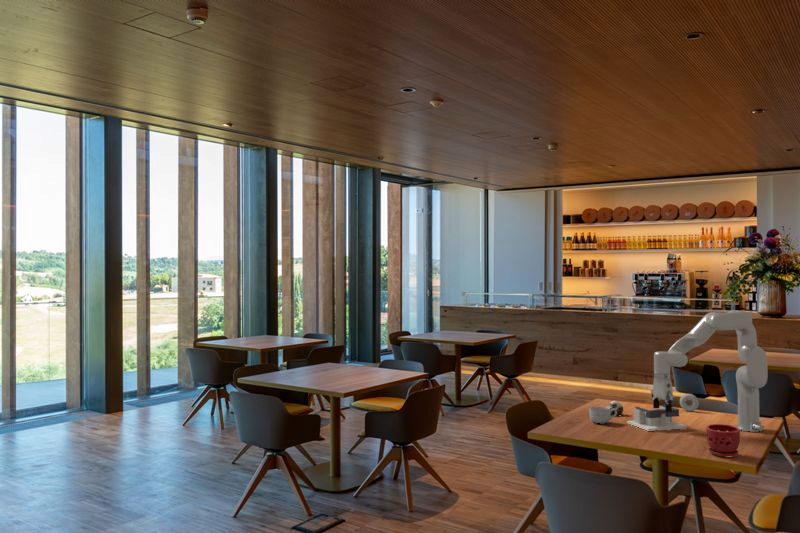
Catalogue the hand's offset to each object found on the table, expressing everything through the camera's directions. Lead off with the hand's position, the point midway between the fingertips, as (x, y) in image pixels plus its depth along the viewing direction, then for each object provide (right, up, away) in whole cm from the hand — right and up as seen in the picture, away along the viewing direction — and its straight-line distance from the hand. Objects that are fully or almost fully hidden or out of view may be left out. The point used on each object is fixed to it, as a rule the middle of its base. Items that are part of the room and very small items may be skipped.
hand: (662, 410), depth 330 cm
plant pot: (+7, -9, -48) cm, 49 cm away
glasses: (-1, -3, +4) cm, 6 cm away
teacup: (-26, -10, +13) cm, 31 cm away
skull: (-14, -10, +33) cm, 37 cm away
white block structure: (-1, -9, +6) cm, 11 cm away
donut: (+31, -10, +40) cm, 51 cm away
